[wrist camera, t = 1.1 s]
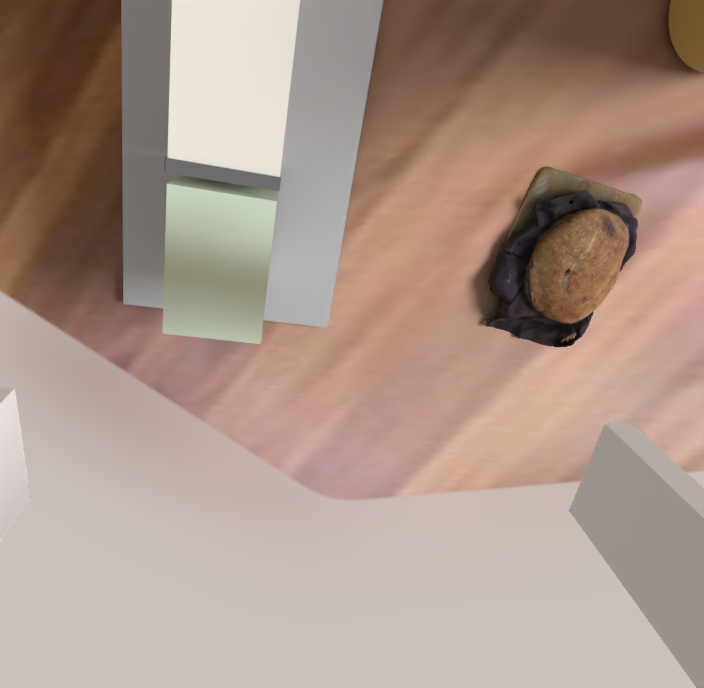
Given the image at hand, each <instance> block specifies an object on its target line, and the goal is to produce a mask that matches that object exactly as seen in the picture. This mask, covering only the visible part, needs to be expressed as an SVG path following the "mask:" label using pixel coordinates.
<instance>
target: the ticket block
mask: <svg viewBox="0 0 704 688" xmlns="http://www.w3.org/2000/svg"><path fill="white" fill-rule="evenodd" d="M382 6H383V0H121V30H122V186H123V304H129V305H138V306H146V307H155V308H163V301H164V265H165V229H166V193H167V183H169V182H170V181H172V180H173V179H175V178H177V177H178V176H180V175H184V176H190V177H196V178H202V179H208V180H214V181H220V182H226V183H232V184H238V185H244V186H250V187H256V188H262V189H268V190H274V191H278V196H277V206H276V215H275V224H274V232H273V241H272V250H271V258H270V267H269V276H268V284H267V293H266V302H265V311H264V319H263V320H265V321H274V322H282V323H291V324H299V325H308V326H316V327H325V328H327V326H328V321H329V315H330V309H331V303H332V297H333V291H334V286H335V280H336V274H337V268H338V262H339V256H340V251H341V245H342V239H343V233H344V227H345V221H346V216H347V210H348V204H349V198H350V192H351V186H352V181H353V175H354V169H355V163H356V157H357V151H358V146H359V140H360V134H361V128H362V122H363V116H364V111H365V105H366V99H367V93H368V87H369V81H370V76H371V70H372V64H373V58H374V52H375V46H376V41H377V35H378V29H379V23H380V17H381V11H382Z"/></svg>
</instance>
